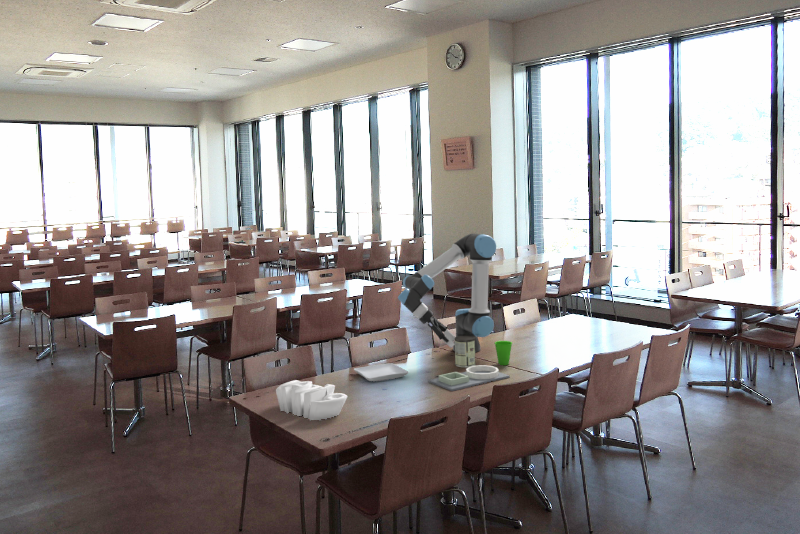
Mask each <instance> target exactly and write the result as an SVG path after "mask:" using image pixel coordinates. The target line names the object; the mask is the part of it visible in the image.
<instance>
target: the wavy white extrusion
mask: <svg viewBox="0 0 800 534" xmlns="http://www.w3.org/2000/svg"><path fill="white" fill-rule="evenodd" d="M335 388H336V385H334V384H329V383H327V384H325V385H324V386H322V385H318V384H313V381H312V380H311V381H309V380H307V381H300V380H297V379H294V380H291V381H287V382H284V383H282V384H280V385H279V386H278V387H277V388H276V389H275V393H276V398H277V401H278V406H279V410H280V412H281V411H284V412H286V413H285V414H288V413H289V412H291V413H292V415H293V414H294V415H297V416H302V415H303V416H302V418H303V417H304V418H308V419H310V420H309V421H311V420H319V421H322V420H321V419H325V420H328V419H327V418H330V419H332V418H331V417H333V418H335V417H334V416H336V417H338V416H339V415H340V413H341V411H342V409H343V407H344V405H345V404H346V401H347V399H348V395H347V394H345V393H344V392H343V393H341V392H335ZM289 414H290V413H289ZM294 415H293V416H294ZM337 415H338V416H337ZM297 416H296V417H297ZM304 418H303V419H304ZM308 419H307V420H308Z"/></svg>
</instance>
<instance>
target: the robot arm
mask: <svg viewBox="0 0 800 534" xmlns="http://www.w3.org/2000/svg"><path fill="white" fill-rule="evenodd" d="M496 252H497V242H496V241H495V239H494V238H493V237H492V236H490V235H487V234H483V233H469V234H468V233H467V235H465V236H463V237H461V238H460V239H458V240H457V241H455V242H454V243H453V244H451V247H450V248H449V249H448V250H446V251H444V252H443V253H442V254H440V255H439V256H437V257H436V258H435V259H433V260H432V261H430V262H429V263H427V264H426V265H425V266H423V267H422V268H421V269H419V270H418V271H416V272H415V273H413V274H412V275H407V276H405V277H404V278H403V279H402V286H403V288H404V289H403V291H402V292H400V294H399V295H398V296H397V299H398V301H399V302H400V303H401V304H402V305H403V306H404V307H405V308H406V309H407V310H408V311H409V312H410V313H411V314H413V317H416V318H417V319H418V320H419V321H420V322H421V323H422V324H423V325H425V324H427V326H428V327H429V328H430V329H431V330H432V332H434V334H435V335H436V336H437V337H438V338H439V341H441V340H442V341H443V342H444V343H445V344H446V345H447V346H448V347H449V348H450V349H452V351H454V352H455V337H457V336H473V337H475V353H478V352H480V351H481V344H480V341H479V338H486V337H488V336H489V335H490V334H491V333H492V332H493V330H494V327H495V323H494V320H493V318H491V310H490V309H489V307H488V305H489V304H488V303H489V302H488V300H489V271H490V270H489V268H490V263H492V262H491V261H492V260H493V256H494V255H495V253H496ZM468 256H469V261H470V262H471V263H472V266H471V267H472V269H471V271H472V272H471V273H472V275H471V307H470V308H460V309H457V310H456V311H455V314H454V315H455V316H454V317H455V335H454V334H453V333H452V332H451V331H450V330H449V329H448V328H449V327H448V326H446V325H444V324H443V323H442V322H440V320H438V319H437V318H436V317H435V315H434V312H433V311H432V310H431V309H429V307H428V306H427V305H426V304H425V303H424V302H423V301H421V300H422V299H423V298H424V297H425V296H426V295H427V294H428V293H429V291H431V290H432V288H434V286H435V281H434V279H433V278H435V277H436V276H438V275H439V274H441V273H442V272H443V271H445V270H446V269H447V268H449V267H450V266H452V265H454V264H455V263H456V262H457V261H459V260H464V259H465V258H466V257H468Z"/></svg>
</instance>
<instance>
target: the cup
mask: <svg viewBox="0 0 800 534" xmlns="http://www.w3.org/2000/svg"><path fill="white" fill-rule="evenodd" d="M494 345H495V350H496V351H495V352H496V357H497V363H498V365H499V364H500V366H508V365H510V364H509V363H510V358H511V352H512V345H513V342H512V341H509V340H497V341H495V342H494Z"/></svg>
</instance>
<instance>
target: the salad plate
mask: <svg viewBox="0 0 800 534" xmlns="http://www.w3.org/2000/svg"><path fill="white" fill-rule="evenodd" d="M353 371H354V372H355V373H356V374H358V375H359V376H361V377H363V378H365V379H366V381H369V382H372V381H373V383H375V381H376V382H381V381H382V382H384V381H389V379H390V380H394V379H395V378H396V379H400V378H402V377H405V376H407V375H408V374H409V373H410V372H409V371H408V370H407V369H404V368H402V366H401V367H400V366H399V365H397V364H395V363H393V362H390V363H381V364H373V365H367V366H361V367H355V368H353Z"/></svg>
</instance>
